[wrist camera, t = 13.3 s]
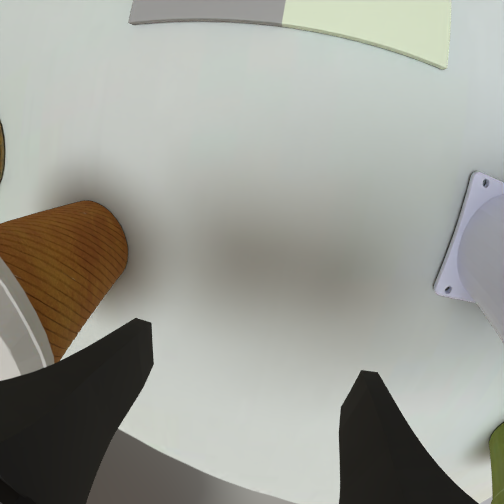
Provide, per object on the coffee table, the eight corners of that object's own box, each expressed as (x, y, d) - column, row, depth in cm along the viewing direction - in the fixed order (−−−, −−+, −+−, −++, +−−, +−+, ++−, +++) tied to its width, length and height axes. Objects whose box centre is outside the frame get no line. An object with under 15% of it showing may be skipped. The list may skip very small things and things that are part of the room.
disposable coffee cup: (45, 171, 19) (-89, 227, 8) (152, 187, 18) (-6, 277, 7) (55, 282, 23) (-41, 364, 12) (149, 314, 22) (59, 439, 11)
